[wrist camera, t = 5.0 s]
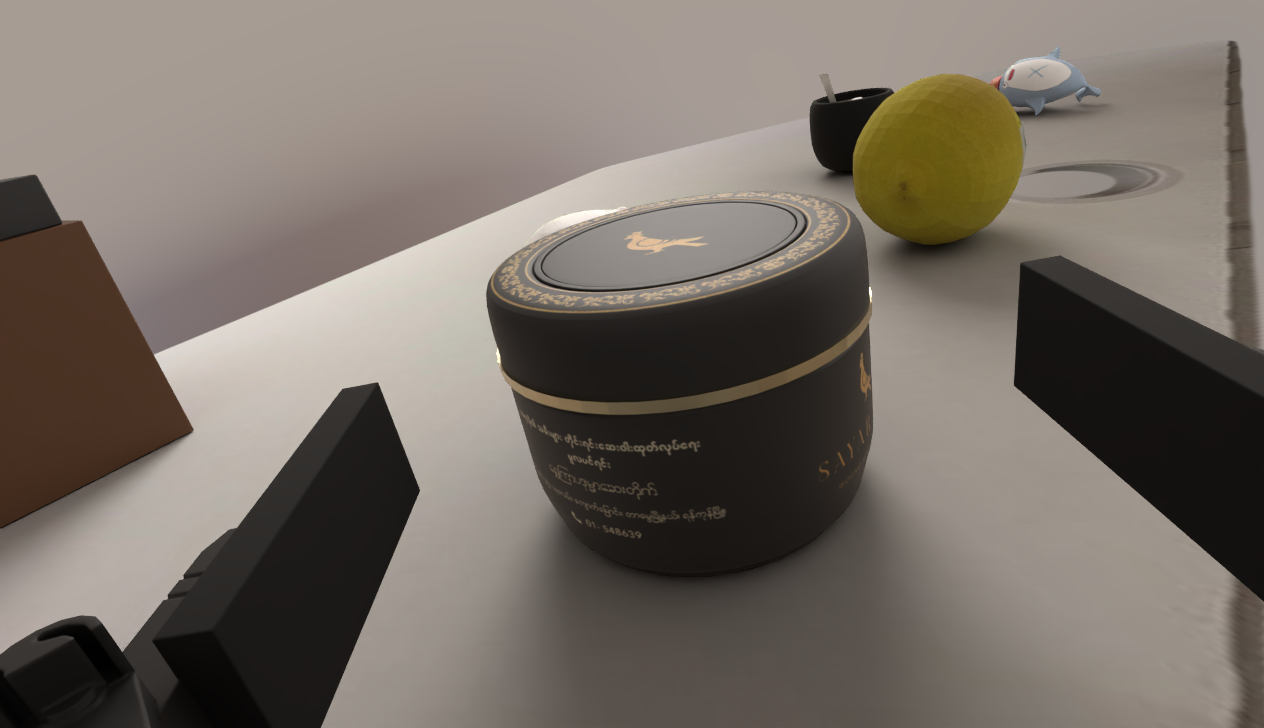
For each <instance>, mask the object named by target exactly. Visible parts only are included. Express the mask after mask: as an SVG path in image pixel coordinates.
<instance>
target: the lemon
mask: <svg viewBox="0 0 1264 728" xmlns="http://www.w3.org/2000/svg"><path fill="white" fill-rule="evenodd" d="M1025 151H1026V140H1025V134H1024V127H1023V125H1022V123H1021V121H1020V119H1019V117H1018V116H1017V114H1016V112H1015V110H1014V108H1013V107H1012V105H1011V104H1010V102H1009V101H1008V99H1007V98H1006V96H1005V95H1004V94H1002V93H1001V92H1000V91H999V90H997V89H996V88H995V87H994V86H992V85H990V84H988V83H986V82H984V81H981V80H979V79H977V78H973V77H969V76H965V75H959V74H940V75H936V76H932V77H927V78H923V79H920V80H918V81H916V82H914V83H912V84H910V85H907V86H905V87H904V88H901V89H900V90H898V91H897V92H895V93H894V94H892V95H891V96H889V97H888V98H887V99H885V100H884V101H883V102H882V104H881V105H880V106H879V107H878V108H877V109H876V110H875V112H874V113H873V114H872V116H871V117H870V119H869V120H868V122H867V123H866V125H865V126H864V128H863V130H862V132H861V134H860V136H859V138H858V140H857V143H856V146H855V150H854V153H853V183H854V189H855V194H856V199H857V200H858V202H859V204H860V206H861V208H862V210H863V211H864V212H865V213H866V215H867V216H868V217H869V218H870V219H871V220H872V221H873V222H874V223H875V224H876V225H878V226H879V227H880V228H882V229H883V230H884V231H886V232H888V233H890V234H893V235H895V236H897V237H899V238H902V239H905V240H908V241H911V242H915V243H920V244H925V245H935V244H944V243H951V242H954V241H957V240H960V239H963V238H966V237H968V236H970V235H972V234H974V233H976V232H977V231H979V230H981V229H982V228H984V227H985V226H987V225H989V224H990V223H991V222H992V221H993V220H994V219H995V218H996V216H997V215H998V214H999V213H1000V212H1001V211H1002V209H1003V208H1004V207H1005V206H1006V204H1007V202H1008V201H1009V199H1010V197H1011V195H1012V193H1013V192H1014V190H1015V188H1016V186H1017V183H1018V180H1019V177H1020V174H1021V170H1022V167H1023V164H1024V157H1025Z"/></svg>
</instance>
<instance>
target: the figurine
mask: <svg viewBox="0 0 1264 728" xmlns="http://www.w3.org/2000/svg"><path fill="white" fill-rule="evenodd" d="M1059 57H1060V49H1059V47H1057V48H1056V49H1055V50H1054V51H1053V52H1052V53H1050V54H1049V55H1047V56H1045V57H1038V58H1037V57H1035V58H1027V59H1023V60H1020V61H1018V62H1016V63H1015V64H1013V65H1012V66H1010V68H1008V69H1007V70H1006V72H1005V73H1004V74H1003V76H1000V77H997V78H995V79H993V80H992V81H991V83H990V85H992V86H994V87H995V88H996V89H997V90H999V91H1000V92H1001V93H1002V94H1004V95H1005V96H1006V98H1007V99H1008V101H1009V102H1010V104H1011V105H1012V107H1013V106H1016V107H1030V108H1032V109H1033V110H1034V112H1035V116H1036V115H1038V114H1039V113H1040V112H1041V110H1042V109H1043V107H1044V104H1046V103H1049V102H1053V101H1055V100H1058V99H1061V98H1063V97H1066V96H1069V95H1071V94H1073V93H1075V92H1076V91H1078V90H1079V91H1078V92H1077V94H1076V95H1075V96H1076V98H1077V100H1078V101H1079V102H1080V101H1081V100H1082V97H1084V96H1087V95H1093V96H1096V97H1098V96H1099V95H1100V94H1101V90H1100V89H1099V88H1095V87H1092V86H1090V85H1088V83H1087V82H1086V80H1085V78H1084V77H1083V75H1082V73H1081V72H1080V70H1079V69H1077V68H1075V67H1074V66H1073V65H1071V64H1070V63H1068V62H1066V61H1064V60H1059ZM1084 87H1085V88H1084ZM1081 88H1082V89H1081Z"/></svg>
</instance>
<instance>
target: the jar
mask: <svg viewBox="0 0 1264 728" xmlns="http://www.w3.org/2000/svg"><path fill="white" fill-rule="evenodd" d="M486 297H487V308H488V313H489V318H490V322H491V326H492V330H493V334H494V337H495V341H496V344H497V360H498V364H499V367H500V370H501V373H502V375H503V377H504V379H505V381H506V382H507V383H508V384H509V385H510V386H511V388H512V392H513V395H514V398H515V402H516V405H517V408H518V412H519V415H520V418H521V422H522V425H523V428H524V432H525V435H526V438H527V442H528V445H529V448H530V452H531V455H532V458H533V462H534V465H535V468H536V471H537V474H538V477H539V480H540V482H541V484H542V487H543V489H544V491H545V493H546V494H547V496H548V498H549V499H550V501H551V503H552V504H553V506H554V507H555V509H556V510H557V511H558V513H559V514H560V516H561V517H562V519H563V520H564V522H565V523H566V525H567V526H568V527H569V529H570V530H571V531H572V532H573V534H574V535H575V536H576V537H577V538H578V539H579V540H580V541H582V542H583V543H584V544H585V545H587V546H588V547H589V548H591V549H592V550H594V551H596V552H597V553H599V554H601V555H603V556H605V557H607V558H609V559H612V560H614V561H616V562H618V563H620V564H623V565H625V566H628V567H631V568H634V569H637V570H641V571H645V572H649V573H655V574H661V575H668V576H684V577H697V576H713V575H722V574H728V573H734V572H738V571H743V570H747V569H751V568H755V567H758V566H761V565H764V564H767V563H770V562H772V561H775V560H777V559H780V558H782V557H784V556H786V555H788V554H790V553H792V552H794V551H796V550H798V549H800V548H801V547H803V546H804V545H806V544H808V543H809V542H810V541H812V540H813V539H815V538H816V537H817V536H818V535H820V534H821V533H822V532H823V531H824V530H825V529H826V528H827V527H829V526H830V525H831V524H832V523H833V522H834V521H835V520H836V519H837V518H838V517H839V516H840V515H841V514H842V513H843V512H844V511H845V509H846V508H847V507H848V505H849V504H850V502H851V501H852V499H853V498H854V496H855V494H856V492H857V489H858V487H859V484H860V481H861V478H862V474H863V471H864V467H865V464H866V460H867V456H868V453H869V449H870V445H871V439H872V432H873V403H872V380H871V358H870V336H869V320H870V318H871V315H872V293H871V290H870V287H869V272H868V259H867V250H866V243H865V236H864V232H863V229H862V226H861V224H860V222H859V220H858V219H857V217H856V216H855V214H854V213H853V212H852V211H850V210H849V209H848V208H846V207H844V206H843V205H841V204H839V203H837V202H834V201H832V200H829V199H826V198H822V197H818V196H812V195H806V194H798V193H789V192H769V191H755V192H731V193H719V194H709V195H700V196H692V197H685V198H679V199H673V200H667V201H661V202H656V203H651V204H646V205H642V206H637V207H633V208H629V209H625V210H621V211H617V212H613V213H610V214H606V215H603V216H599V217H596V218H593V219H590V220H587V221H583V222H581V223H578V224H575V225H572V226H569V227H567V228H564V229H562V230H559V231H557V232H554V233H552V234H550V235H548V236H545V237H543V238H541V239H539V240H537V241H535V242H533V243H531V244H530V245H528V246H526V247H524V248H523V249H521V250H519V251H518V252H516V253H515V254H513V255H512V256H510V257H509V258H508V259H507V260H505V261H504V262H503V263H502V264H501V265H500V266H499V267H498V268H497V269H496V271H495V272H494V273H493V275H492V276H491V278H490V280H489V283H488V287H487V292H486Z"/></svg>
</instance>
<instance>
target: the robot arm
mask: <svg viewBox="0 0 1264 728" xmlns="http://www.w3.org/2000/svg"><path fill="white" fill-rule="evenodd" d="M1014 386H1015V387H1016V388H1017V389H1019V390H1020V391H1021V392H1022V393H1023V394H1024V395H1026V396H1027V397H1028V398H1029V399H1030V400H1031V401H1033V402H1034V403H1035V404H1036V405H1037V406H1038V407H1039V408H1041V409H1042V410H1043V411H1044V412H1045V413H1046V414H1048V415H1049V416H1050V417H1051V418H1052V419H1053V420H1055V421H1056V422H1057V423H1058V424H1059V425H1060V426H1061V427H1063V428H1064V429H1065V430H1066V431H1067V432H1068V433H1070V434H1071V435H1072V436H1073V437H1074V438H1075V439H1076V440H1078V441H1079V442H1080V443H1081V444H1082V445H1083V446H1085V447H1086V448H1087V449H1088V450H1089V451H1090V452H1092V453H1093V454H1094V455H1095V456H1096V457H1097V458H1098V459H1100V460H1101V461H1102V462H1103V463H1104V464H1105V465H1107V466H1108V467H1109V468H1110V469H1111V470H1112V471H1114V472H1115V473H1116V474H1117V475H1118V476H1119V477H1120V478H1122V479H1123V480H1124V481H1125V482H1126V483H1127V484H1129V485H1130V486H1131V487H1132V488H1133V489H1134V490H1135V491H1137V492H1138V493H1139V494H1140V495H1141V496H1142V497H1144V498H1145V499H1146V500H1147V501H1148V502H1149V503H1151V504H1152V505H1153V506H1154V507H1155V508H1156V509H1157V510H1159V511H1160V512H1161V513H1162V514H1163V515H1164V516H1166V517H1167V518H1168V519H1169V520H1170V521H1171V522H1173V523H1174V524H1175V525H1176V526H1177V527H1178V528H1179V529H1181V530H1182V531H1183V532H1184V533H1185V534H1186V535H1188V536H1189V537H1190V538H1191V539H1192V540H1193V541H1195V542H1196V543H1197V544H1198V545H1199V546H1200V547H1201V548H1203V549H1204V550H1205V551H1206V552H1207V553H1208V554H1210V555H1211V556H1212V557H1213V558H1214V559H1215V560H1216V561H1218V562H1219V563H1220V564H1221V565H1222V566H1223V567H1225V568H1226V569H1227V570H1228V571H1229V572H1230V573H1232V574H1233V575H1234V576H1235V577H1236V578H1237V579H1238V580H1240V581H1241V582H1242V583H1243V584H1244V585H1245V586H1247V587H1248V588H1249V589H1250V590H1251V591H1252V592H1254V593H1255V594H1256V595H1257V596H1258V597H1259V598H1260V599H1262V600H1263V601H1264V350H1261V349H1257V348H1254V347H1247V346H1245V345H1242V344H1240V343H1238V342H1236V341H1234V340H1232V339H1230V338H1228V337H1226V336H1224V335H1222V334H1220V333H1218V332H1216V331H1214V330H1212V329H1210V328H1208V327H1206V326H1203V325H1201V324H1199V323H1197V322H1195V321H1193V320H1191V319H1189V318H1187V317H1185V316H1183V315H1181V314H1179V313H1177V312H1175V311H1173V310H1171V309H1169V308H1167V307H1164V306H1162V305H1160V304H1158V303H1156V302H1154V301H1152V300H1150V299H1148V298H1146V297H1144V296H1142V295H1140V294H1138V293H1136V292H1134V291H1132V290H1130V289H1128V288H1126V287H1123V286H1121V285H1119V284H1117V283H1115V282H1113V281H1111V280H1109V279H1107V278H1105V277H1103V276H1101V275H1099V274H1097V273H1095V272H1093V271H1091V270H1089V269H1087V268H1084V267H1082V266H1080V265H1078V264H1076V263H1074V262H1072V261H1070V260H1068V259H1066V258H1064V257H1062V256H1055V257H1050V258H1044V259H1039V260H1034V261H1028V262H1023V263H1020V282H1019V300H1018V319H1017V338H1016V356H1015V375H1014ZM419 492H420V489H419V486H418V484H417V481H416V479H415V476H414V474H413V471H412V468H411V466H410V463H409V461H408V458H407V456H406V453H405V450H404V448H403V445H402V443H401V440H400V438H399V435H398V432H397V430H396V427H395V425H394V422H393V420H392V417H391V414H390V412H389V409H388V407H387V404H386V402H385V399H384V396H383V394H382V391H381V389H380V386H379V384H378V382H377V383H372V384H367V385H361V386H356V387H350V388H345V389H342V390H341V392H340V393H339V394H338V396H337V397H336V398H335V399H334V401H333V402H332V403H331V405H330V406H329V407H328V409H327V410H326V411H325V413H324V414H323V415H322V417H321V418H320V419H319V421H318V422H317V423H316V425H315V426H314V427H313V428H312V430H311V431H310V432H309V434H308V435H307V436H306V438H305V439H304V440H303V442H302V443H301V444H300V446H299V447H298V448H297V450H296V451H295V452H294V454H293V455H292V456H291V458H290V459H289V460H288V461H287V463H286V464H285V465H284V467H283V468H282V469H281V471H280V472H279V473H278V475H277V476H276V477H275V479H274V480H273V481H272V483H271V484H270V485H269V487H268V488H267V489H266V490H265V492H264V493H263V494H262V496H261V497H260V498H259V500H258V501H257V502H256V504H255V505H254V506H253V508H252V509H251V510H250V512H249V513H248V514H247V516H246V517H245V518H244V519H243V521H242V522H241V523H240V525H239V526H238V527H237V528H235V529H230V530H228V531H227V532H226V533H225V534H223V535H222V536H221V537H220V538H218V539H217V540H216V541H215V542H213V543H212V544H211V545H210V546H209V547H207V548H206V549H205V550H204V551H202V552H201V554H200V555H199V556H198V557H197V559H196V560H195V561H194V563H193V564H192V565H191V566H190V568H189V569H188V570H187V571H186V573H185V574H184V575H183V576H184V579H183V580H179V581H178V583H177V584H176V585H175V587H174V588H173V589H172V590H171V592H170V593H169V594H168V599H167V600H163V602H162V603H161V604H160V605H159V607H158V608H157V609H156V611H155V612H154V613H153V614H152V616H151V617H150V618H149V619H148V621H147V622H146V623H145V624H144V626H143V627H142V628H141V630H140V631H139V632H138V633H137V635H136V636H135V637H134V638H133V640H132V641H131V642H130V643H129V645H128V646H127V647H126V648H125V650H124V651H123V652H122V651H121V650H120V648H119V647H118V645H117V644H116V643H115V641H114V640H113V638H112V637H111V635H110V634H109V633H108V631H107V630H106V628H105V627H104V625H103V624H102V623H101V622H100V621H99V620H98V619H97V618H96V617H95V616H77V617H73V618H68V619H64V620H60V621H58V622H56V623H53V624H51V625H49V626H46V627H44V628H42V629H40V630H37V631H35V632H34V633H32V634H30V635H29V636H27V637H25V638H24V639H22V640H20V641H19V642H17V643H15V644H14V645H12V646H11V647H9V648H8V649H7V650H6V651H4V652H3V653H2V654H1V655H0V728H321V726H322V724H323V721H324V719H325V716H326V714H327V712H328V709H329V707H330V704H331V702H332V700H333V697H334V695H335V692H336V690H337V688H338V685H339V683H340V680H341V678H342V676H343V673H344V671H345V669H346V666H347V664H348V661H349V659H350V657H351V654H352V652H353V649H354V647H355V645H356V642H357V640H358V637H359V635H360V633H361V630H362V628H363V625H364V623H365V621H366V618H367V616H368V614H369V611H370V609H371V606H372V604H373V602H374V599H375V597H376V594H377V592H378V590H379V587H380V585H381V582H382V580H383V578H384V575H385V573H386V570H387V568H388V566H389V563H390V561H391V559H392V556H393V554H394V551H395V549H396V547H397V544H398V542H399V539H400V537H401V535H402V532H403V530H404V527H405V525H406V523H407V520H408V518H409V515H410V513H411V511H412V508H413V506H414V504H415V501H416V499H417V496H418V494H419Z"/></svg>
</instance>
